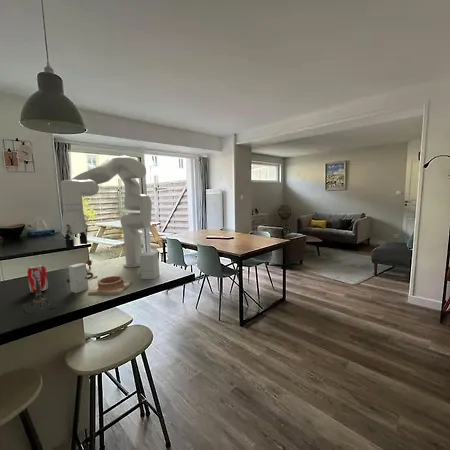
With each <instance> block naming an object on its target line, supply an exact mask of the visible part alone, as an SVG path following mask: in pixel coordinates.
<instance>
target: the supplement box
mask: <svg viewBox="0 0 450 450" xmlns="http://www.w3.org/2000/svg"><path fill="white" fill-rule="evenodd" d="M159 262H160V261H159V251H144V252H142V254H141V255H140V266H139V267H140V273H141V274H140V276H141V280H156V278H158V276H160V263H159Z"/></svg>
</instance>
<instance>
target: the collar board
mask: <svg viewBox="0 0 450 450" xmlns="http://www.w3.org/2000/svg"><path fill="white" fill-rule="evenodd" d="M132 284H133V280H124V277H123V276H121V275H110V276H106V277H103V278H100V279H98V280H97V285H96V286H95V287H93V288H92V289H90V290H89V291H88V292H87V295H92V296H93V295H95V296H97V295H100V296H101V295H105V296H106V295H109V296H111V295H112V296H115V295H118V296H119V295H120V294H122V293H123V292H124V291H125V290H126V289H127V288H128V287H129V286H131V285H132Z"/></svg>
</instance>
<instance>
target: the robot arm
mask: <svg viewBox="0 0 450 450" xmlns="http://www.w3.org/2000/svg"><path fill="white" fill-rule="evenodd" d="M146 174H147V168H146V166H145V165H144V164H143V163H142V162H141V161H139V160H137V159H135V158H133V157H131V156H127V155H120V156H118V155H116V156H111V157H110V158H107V159H106V160H105V161H104V162H102V163H101V164H99V165H98V166H96V167H94V168H91V169H89V170H86V171H83V172H81V173H79V174H77V175H75V176H74V177H73V178H71V179H62V181H61V182H60V188H61V198H62V207H63V213H62V229H61V230H60V233H61V235H62V237H63V238H64V240H65V247H66V248H65V249H66V250H73V249H75V243H74V239H73V238H74V236H75V235H78V234H79V244H80V245H87V244H88V237H87V236H88V231H89V225H88V224H87V223H86V218H85V213H84V204H83V197H93V196H95V195H97V194H99V193H98V192H99V190H100V187H99V185H101V184H104V183H107V182H110V180H112V179H113V178H114V177H116V176H119V178H120V179H121V181H122V183H123V184H124V203H123V204H124V209H126V210H127V211H135V212H126V213H123V214H122V216H121V217H120V225H121V228H122V234H123V244H124V255H125V262H124V263H122V266H123V267H125V268H138V267H141V266H140V255H141V254H143V251H142V240H141V239H142V236H141V233H140V231H139V230H145V229H146V230H147V229H148V228H149V227H150V226H151V223H152V205H153V204H152V203H153V202H152V200H151V197H150V196H149V195H147V194H141V185H140V184H139V182H138V181H137V180H136V179H143V178H145V176H146ZM137 211H139V212H137Z"/></svg>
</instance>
